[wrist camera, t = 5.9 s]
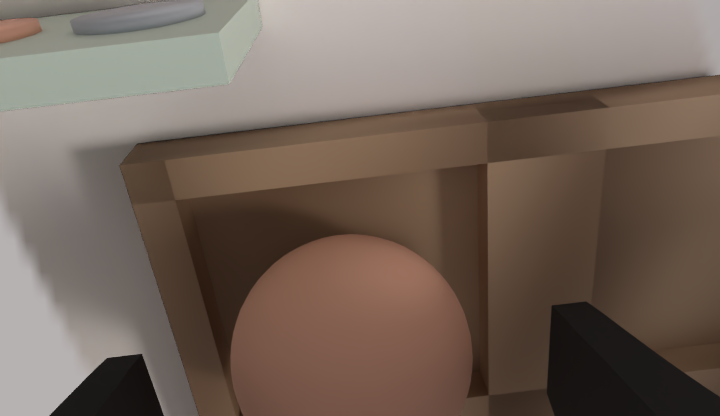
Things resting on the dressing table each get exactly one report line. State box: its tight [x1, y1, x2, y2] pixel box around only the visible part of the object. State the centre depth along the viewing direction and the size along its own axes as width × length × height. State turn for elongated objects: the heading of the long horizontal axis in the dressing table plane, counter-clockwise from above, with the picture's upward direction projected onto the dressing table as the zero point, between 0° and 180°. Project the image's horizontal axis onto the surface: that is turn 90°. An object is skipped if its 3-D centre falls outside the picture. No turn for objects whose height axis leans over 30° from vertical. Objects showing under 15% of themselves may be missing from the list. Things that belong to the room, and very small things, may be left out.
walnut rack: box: [119, 75, 720, 416], centre depth 14 cm, size 15×15×1 cm
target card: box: [0, 0, 262, 111], centre depth 8 cm, size 5×1×4 cm, turn 96°
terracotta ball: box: [230, 234, 473, 416], centre depth 11 cm, size 4×4×4 cm
